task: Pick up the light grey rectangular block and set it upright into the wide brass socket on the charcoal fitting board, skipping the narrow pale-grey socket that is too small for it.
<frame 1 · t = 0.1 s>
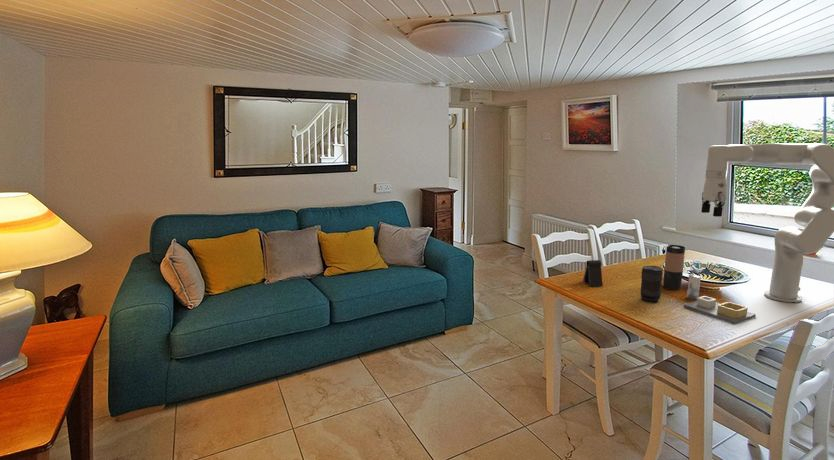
hand: (711, 214, 189), 37 cm above the table, tool pointing down, fingers open, 9 cm apart
camera lens: (649, 300, 192), on the table
travel mug: (671, 287, 208), on the table
fitting board: (718, 312, 178), on the table
door stopper: (592, 284, 215), on the table
light grey rectangular block: (692, 297, 194), on the table
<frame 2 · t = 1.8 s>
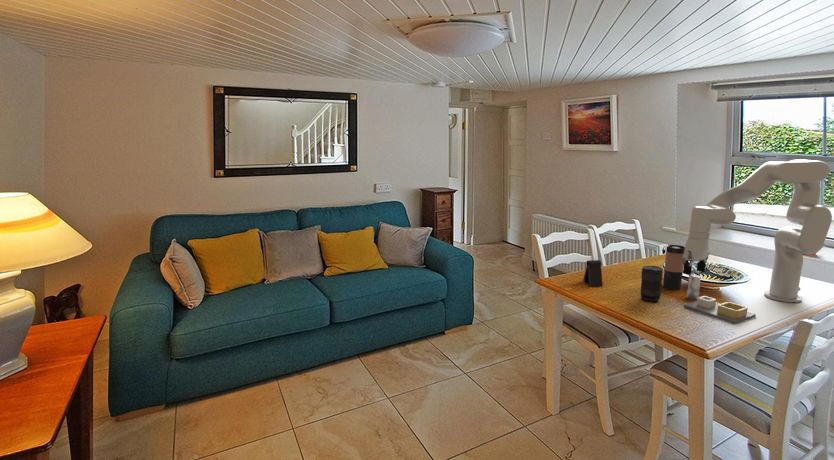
hand: (693, 272, 192), 12 cm above the table, tool pointing down, fingers open, 9 cm apart
nothing on the table moved.
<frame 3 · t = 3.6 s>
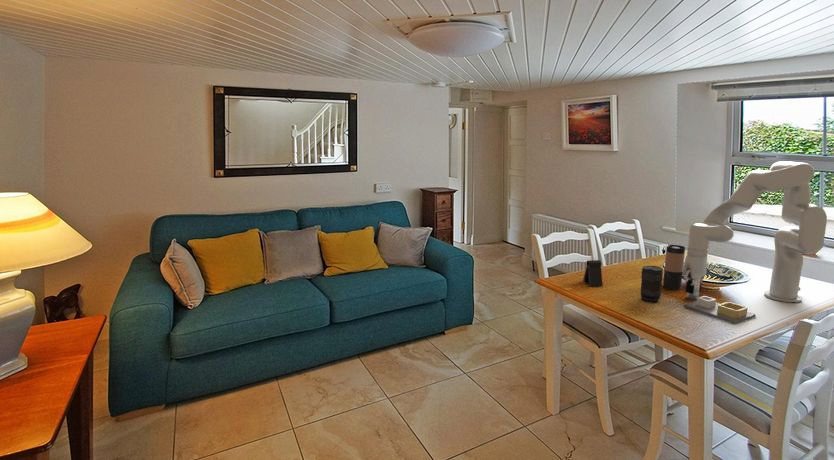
hand: (693, 291, 194), 3 cm above the table, tool pointing down, fingers closed on light grey rectangular block, 4 cm apart
light grey rectangular block: (692, 297, 194), on the table, touching gripper
everything else where it was.
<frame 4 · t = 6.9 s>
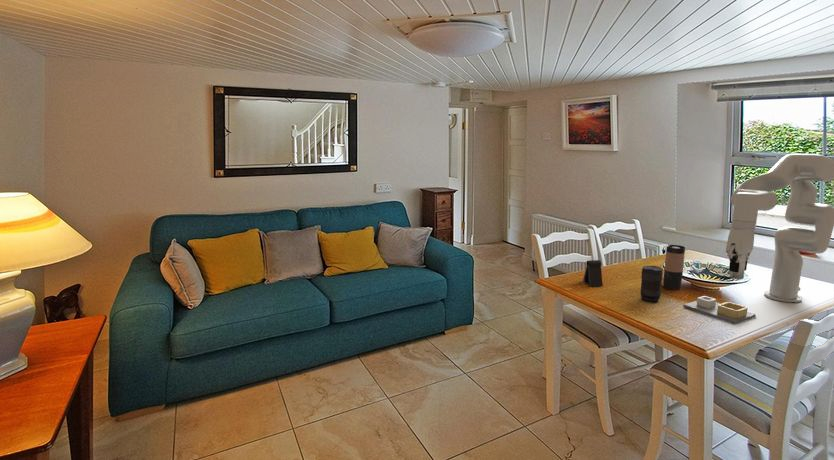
hand: (737, 270, 170), 19 cm above the table, tool pointing down, fingers closed on light grey rectangular block, 4 cm apart
light grey rectangular block: (736, 277, 170), point 16 cm above the table, touching gripper
everything else where it was.
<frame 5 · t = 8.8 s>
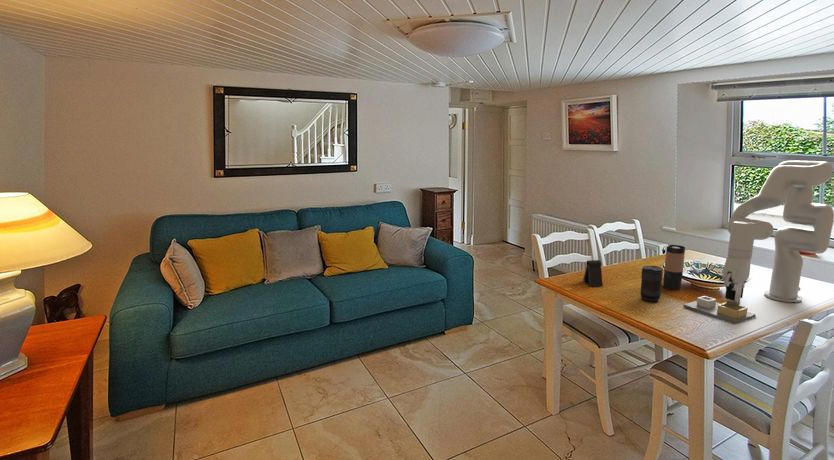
hand: (733, 297, 172), 8 cm above the table, tool pointing down, fingers closed on light grey rectangular block, 4 cm apart
light grey rectangular block: (732, 304, 173), point 5 cm above the table, touching gripper
everything else where it was.
when the fingers open (5 cm above the table, at t = 10.2 s): light grey rectangular block stays where it is, resting on fitting board.
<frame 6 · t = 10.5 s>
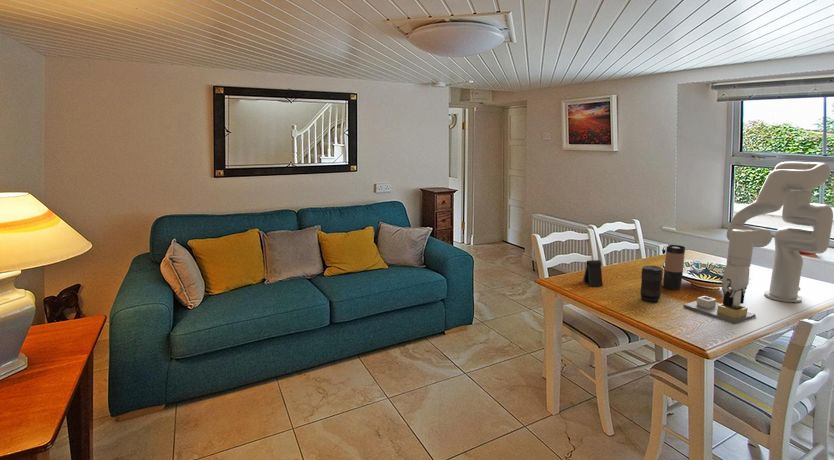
hand: (733, 303, 173), 5 cm above the table, tool pointing down, fingers open, 6 cm apart
light grey rectangular block: (731, 313, 174), point 1 cm above the table, touching fitting board
everything else where it was.
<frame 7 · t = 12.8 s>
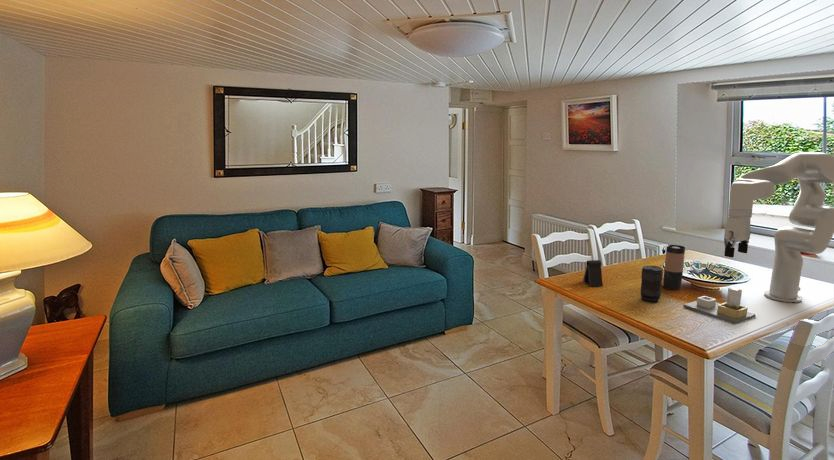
hand: (735, 254, 176), 23 cm above the table, tool pointing down, fingers open, 9 cm apart
nothing on the table moved.
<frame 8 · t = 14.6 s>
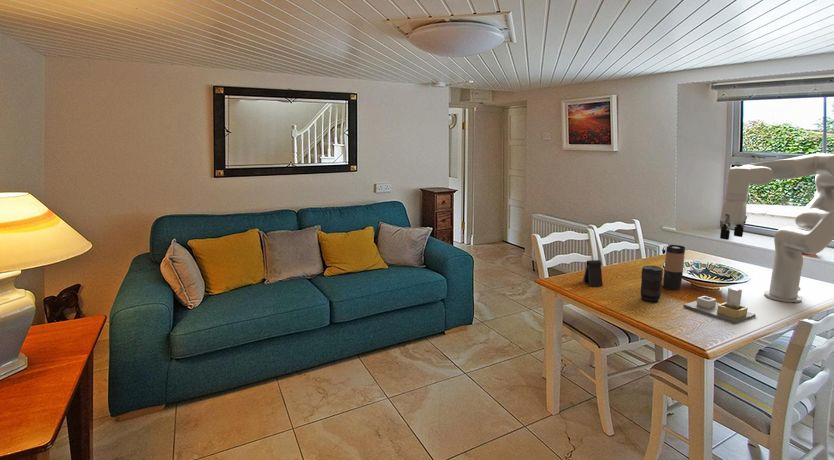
hand: (731, 237, 184), 28 cm above the table, tool pointing down, fingers open, 9 cm apart
nothing on the table moved.
at the end: light grey rectangular block 0.1 cm from the target spot on the fitting board, point 1.2 cm above the fitting board's base; light grey rectangular block tilted 0°; the gripper is holding nothing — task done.
